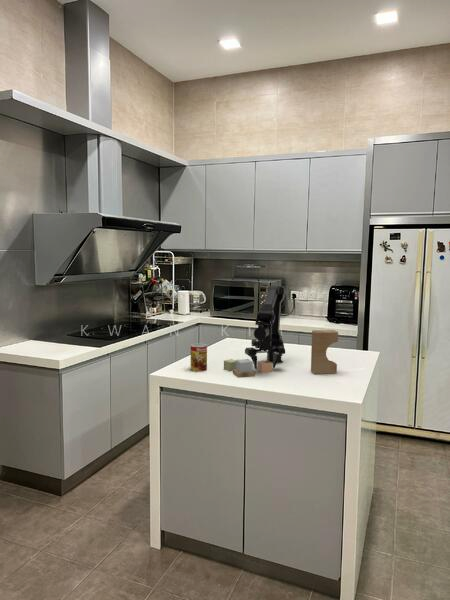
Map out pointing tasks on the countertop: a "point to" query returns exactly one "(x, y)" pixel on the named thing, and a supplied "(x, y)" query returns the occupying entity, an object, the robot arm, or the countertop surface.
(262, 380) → the countertop surface
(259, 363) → the terracotta block
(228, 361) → the olive block
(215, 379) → the countertop surface
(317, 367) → the decorative block
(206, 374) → the countertop surface
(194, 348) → the canned food
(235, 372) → the walnut slab
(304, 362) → the countertop surface
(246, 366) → the grey block
